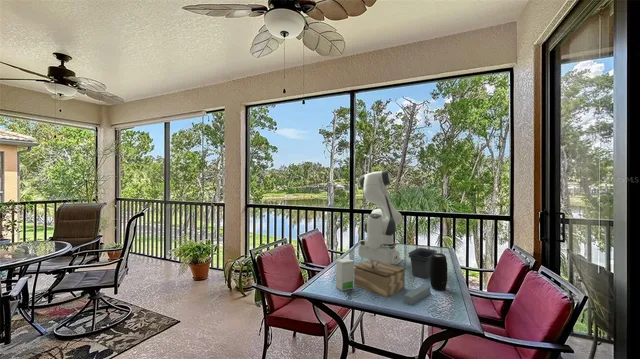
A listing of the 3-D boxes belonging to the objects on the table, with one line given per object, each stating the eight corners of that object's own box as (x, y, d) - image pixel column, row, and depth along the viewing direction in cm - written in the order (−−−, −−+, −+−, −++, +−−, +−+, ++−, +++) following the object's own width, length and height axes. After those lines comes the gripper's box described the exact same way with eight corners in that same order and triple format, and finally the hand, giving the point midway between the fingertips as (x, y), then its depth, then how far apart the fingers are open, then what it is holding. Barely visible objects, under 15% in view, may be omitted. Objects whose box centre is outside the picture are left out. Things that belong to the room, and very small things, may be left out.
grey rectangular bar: (423, 291, 148) (423, 284, 148) (430, 294, 145) (430, 286, 145) (404, 302, 135) (404, 294, 135) (411, 305, 132) (411, 297, 132)
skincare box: (341, 291, 147) (341, 262, 147) (335, 286, 153) (335, 259, 153) (354, 288, 151) (354, 260, 151) (347, 284, 157) (347, 257, 157)
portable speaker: (448, 292, 147) (448, 257, 147) (430, 290, 150) (430, 256, 150) (445, 286, 155) (446, 253, 155) (428, 284, 158) (429, 252, 158)
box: (372, 277, 168) (372, 261, 168) (404, 288, 152) (404, 270, 152) (353, 284, 156) (354, 267, 156) (386, 297, 140) (386, 278, 140)
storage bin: (427, 281, 163) (427, 257, 163) (403, 275, 174) (403, 252, 173) (438, 272, 179) (439, 250, 179) (415, 267, 190) (416, 246, 190)
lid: (372, 261, 168) (372, 259, 168) (404, 270, 152) (404, 268, 152) (354, 266, 156) (354, 264, 156) (386, 276, 140) (386, 274, 140)
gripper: (393, 245, 146) (393, 271, 146) (363, 239, 161) (363, 262, 161) (387, 247, 141) (387, 274, 141) (356, 240, 156) (356, 264, 156)
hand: (374, 267), depth 151 cm, fingers closed
